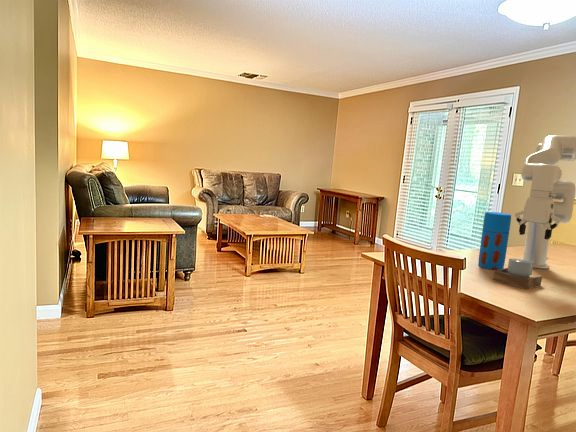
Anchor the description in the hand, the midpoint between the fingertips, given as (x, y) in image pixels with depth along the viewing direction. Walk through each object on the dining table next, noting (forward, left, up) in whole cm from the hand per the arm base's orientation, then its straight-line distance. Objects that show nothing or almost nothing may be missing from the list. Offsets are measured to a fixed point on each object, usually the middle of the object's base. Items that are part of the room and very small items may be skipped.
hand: (534, 236), depth 168 cm
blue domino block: (-6, -19, -19) cm, 27 cm away
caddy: (+9, 0, -18) cm, 20 cm away
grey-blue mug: (+6, 0, -18) cm, 19 cm away
